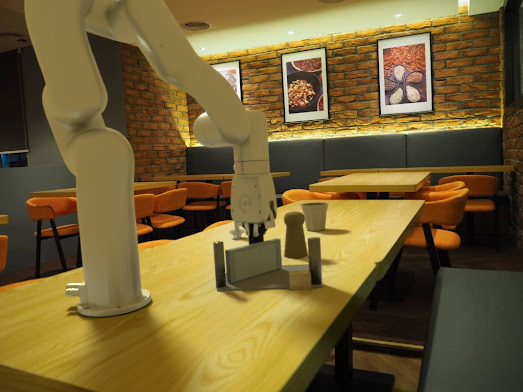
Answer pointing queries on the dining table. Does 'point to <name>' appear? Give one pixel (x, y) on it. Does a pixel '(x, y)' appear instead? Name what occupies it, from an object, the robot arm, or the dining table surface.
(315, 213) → the flower pot
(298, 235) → the cork
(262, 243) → the gate
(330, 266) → the dining table surface
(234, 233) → the screw
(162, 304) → the dining table surface
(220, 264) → the hinge post
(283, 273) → the mat
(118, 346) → the dining table surface
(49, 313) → the dining table surface
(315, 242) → the stile
